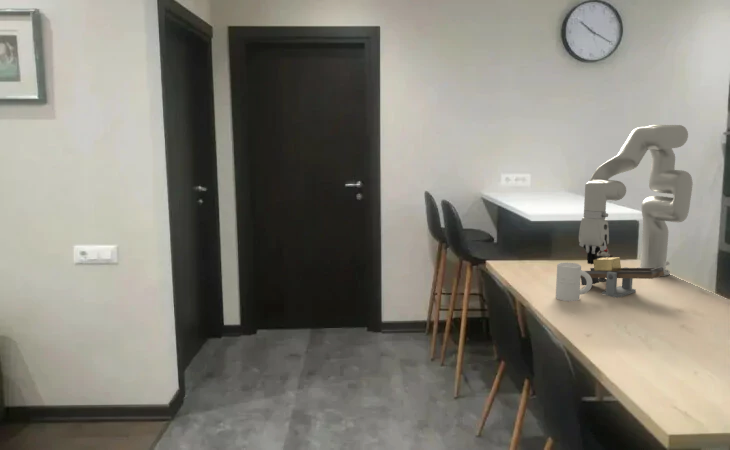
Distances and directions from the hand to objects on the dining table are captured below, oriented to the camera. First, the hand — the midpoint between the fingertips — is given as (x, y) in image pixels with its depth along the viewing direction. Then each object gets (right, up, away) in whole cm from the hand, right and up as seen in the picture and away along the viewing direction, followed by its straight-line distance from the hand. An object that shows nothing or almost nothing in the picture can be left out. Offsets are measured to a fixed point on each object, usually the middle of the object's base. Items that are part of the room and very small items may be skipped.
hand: (591, 263), depth 232 cm
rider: (+4, -3, -5) cm, 7 cm away
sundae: (+8, -8, +11) cm, 15 cm away
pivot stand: (+7, -10, -8) cm, 15 cm away
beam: (+7, -7, -9) cm, 13 cm away
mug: (-12, -12, -14) cm, 22 cm away
